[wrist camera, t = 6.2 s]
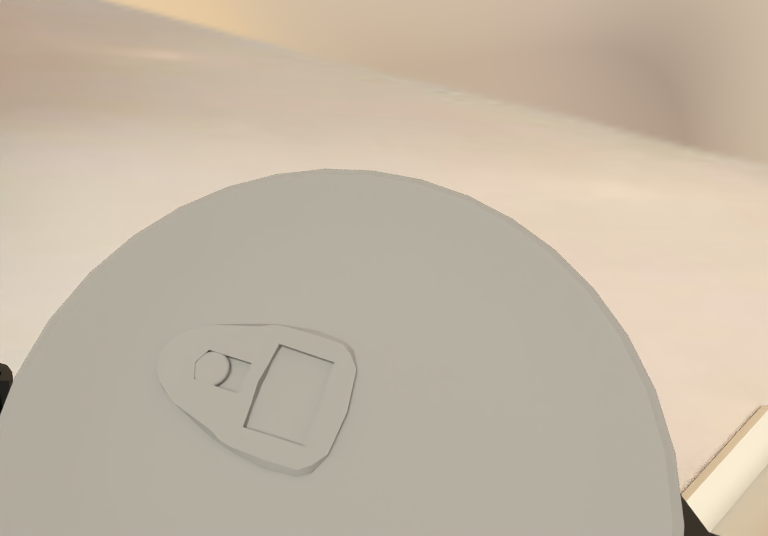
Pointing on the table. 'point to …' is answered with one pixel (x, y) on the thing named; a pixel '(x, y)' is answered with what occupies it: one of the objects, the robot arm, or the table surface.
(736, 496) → the white square tray
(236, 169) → the table surface
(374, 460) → the canned food
